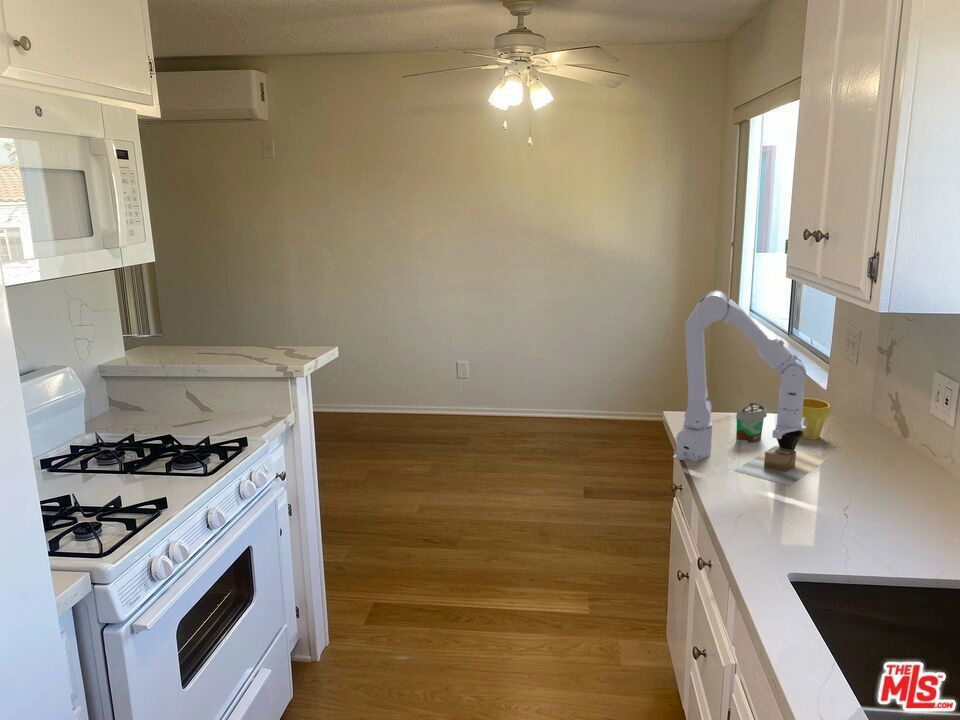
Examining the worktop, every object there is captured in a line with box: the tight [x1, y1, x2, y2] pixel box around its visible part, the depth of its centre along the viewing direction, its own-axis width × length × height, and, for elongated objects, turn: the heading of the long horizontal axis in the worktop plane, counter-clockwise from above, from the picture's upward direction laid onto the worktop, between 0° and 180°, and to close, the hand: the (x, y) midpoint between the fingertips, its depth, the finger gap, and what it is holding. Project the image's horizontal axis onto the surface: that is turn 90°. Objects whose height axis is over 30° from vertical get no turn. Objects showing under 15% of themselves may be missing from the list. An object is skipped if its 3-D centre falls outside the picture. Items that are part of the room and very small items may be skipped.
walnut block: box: [764, 445, 796, 472], centre depth 181 cm, size 6×6×4 cm
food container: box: [735, 400, 768, 444], centre depth 201 cm, size 12×6×10 cm, turn 143°
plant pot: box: [799, 397, 831, 440], centre depth 204 cm, size 10×10×10 cm
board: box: [733, 445, 830, 487], centre depth 183 cm, size 24×14×1 cm, turn 134°
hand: (786, 458), depth 184 cm, fingers closed
